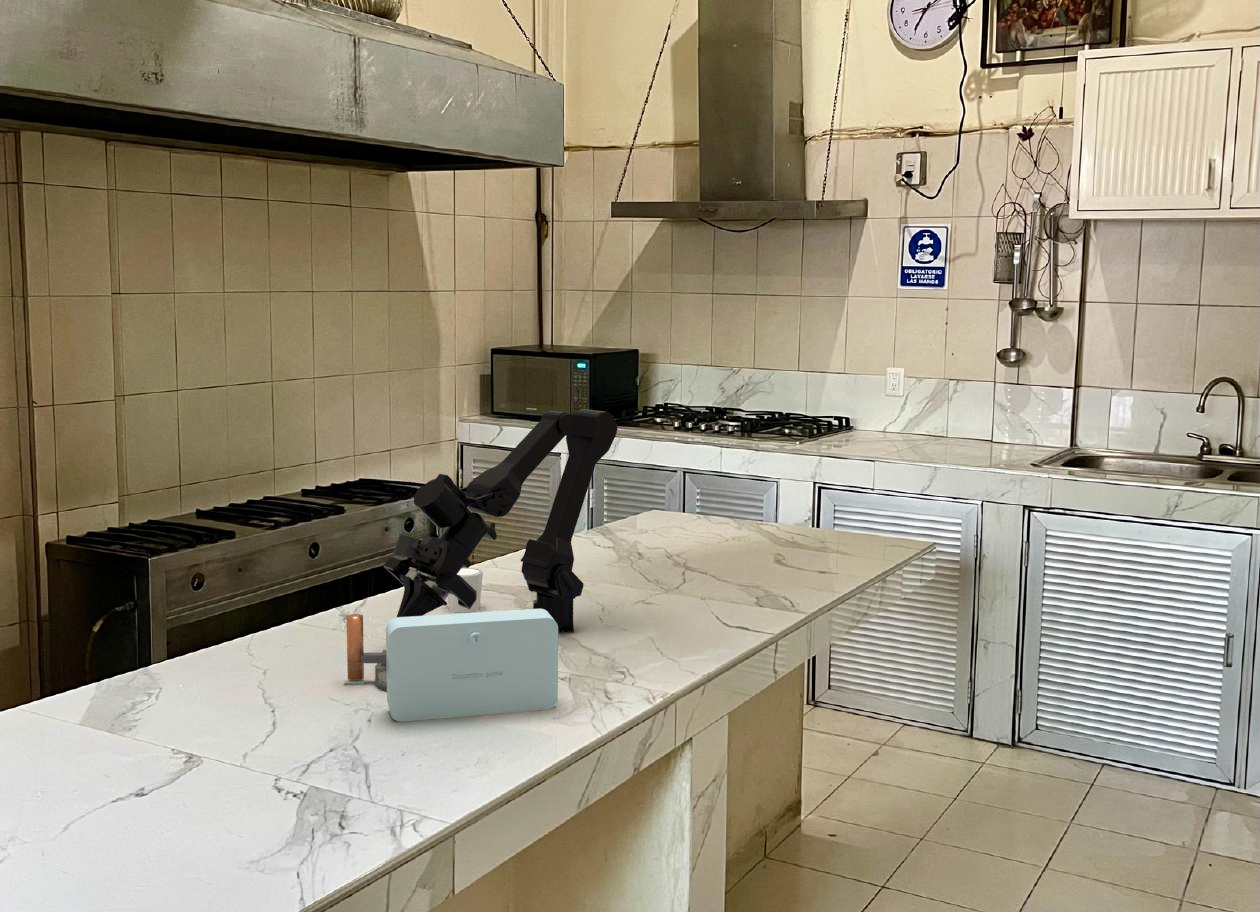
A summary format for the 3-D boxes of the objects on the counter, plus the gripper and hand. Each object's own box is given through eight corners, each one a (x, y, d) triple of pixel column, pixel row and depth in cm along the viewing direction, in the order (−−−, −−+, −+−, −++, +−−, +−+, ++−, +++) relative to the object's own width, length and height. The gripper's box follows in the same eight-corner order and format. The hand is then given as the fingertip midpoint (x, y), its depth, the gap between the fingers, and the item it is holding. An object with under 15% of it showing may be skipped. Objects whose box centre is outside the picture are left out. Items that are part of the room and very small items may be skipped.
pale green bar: (365, 682, 180) (365, 680, 180) (364, 684, 180) (364, 682, 180) (344, 683, 180) (344, 681, 180) (344, 684, 179) (344, 682, 179)
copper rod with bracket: (394, 675, 182) (393, 614, 181) (391, 680, 180) (390, 618, 178) (349, 675, 182) (348, 613, 181) (346, 680, 180) (344, 618, 178)
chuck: (444, 670, 186) (444, 626, 185) (441, 692, 177) (441, 645, 176) (378, 671, 185) (377, 627, 184) (371, 693, 175) (371, 647, 174)
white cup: (476, 614, 218) (475, 576, 217) (439, 612, 219) (439, 574, 218) (487, 605, 225) (487, 568, 224) (452, 602, 226) (452, 566, 225)
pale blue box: (390, 725, 163) (389, 629, 162) (387, 710, 169) (385, 618, 167) (559, 710, 170) (559, 618, 168) (550, 697, 175) (550, 607, 174)
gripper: (392, 506, 195) (333, 584, 189) (459, 523, 181) (397, 608, 175) (434, 546, 201) (378, 623, 195) (502, 566, 188) (444, 650, 182)
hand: (397, 625), depth 187 cm, fingers closed
